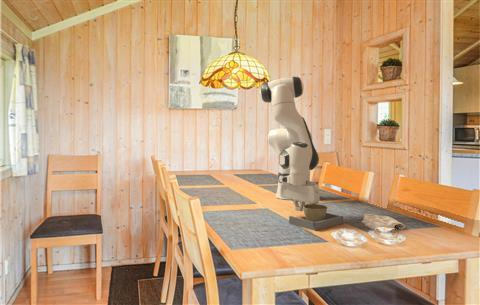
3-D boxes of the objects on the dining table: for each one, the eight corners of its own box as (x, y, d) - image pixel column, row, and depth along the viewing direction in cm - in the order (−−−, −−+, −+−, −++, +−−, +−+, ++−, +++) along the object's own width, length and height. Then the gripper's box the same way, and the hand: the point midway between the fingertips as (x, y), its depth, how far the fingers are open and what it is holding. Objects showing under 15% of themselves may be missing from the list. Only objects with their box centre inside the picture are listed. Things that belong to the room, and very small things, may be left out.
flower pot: (298, 221, 165) (298, 205, 164) (317, 219, 169) (318, 203, 168) (311, 227, 156) (311, 209, 155) (331, 225, 160) (332, 208, 159)
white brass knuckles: (408, 233, 150) (372, 233, 149) (388, 221, 168) (355, 221, 167) (409, 224, 150) (372, 225, 149) (388, 213, 168) (355, 214, 167)
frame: (317, 217, 173) (317, 210, 173) (343, 223, 162) (343, 216, 162) (289, 223, 162) (289, 216, 161) (315, 230, 151) (315, 223, 151)
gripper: (323, 181, 163) (322, 214, 164) (287, 176, 178) (287, 205, 180) (313, 183, 159) (312, 216, 160) (278, 177, 174) (277, 207, 176)
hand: (299, 210), depth 170 cm, fingers closed
